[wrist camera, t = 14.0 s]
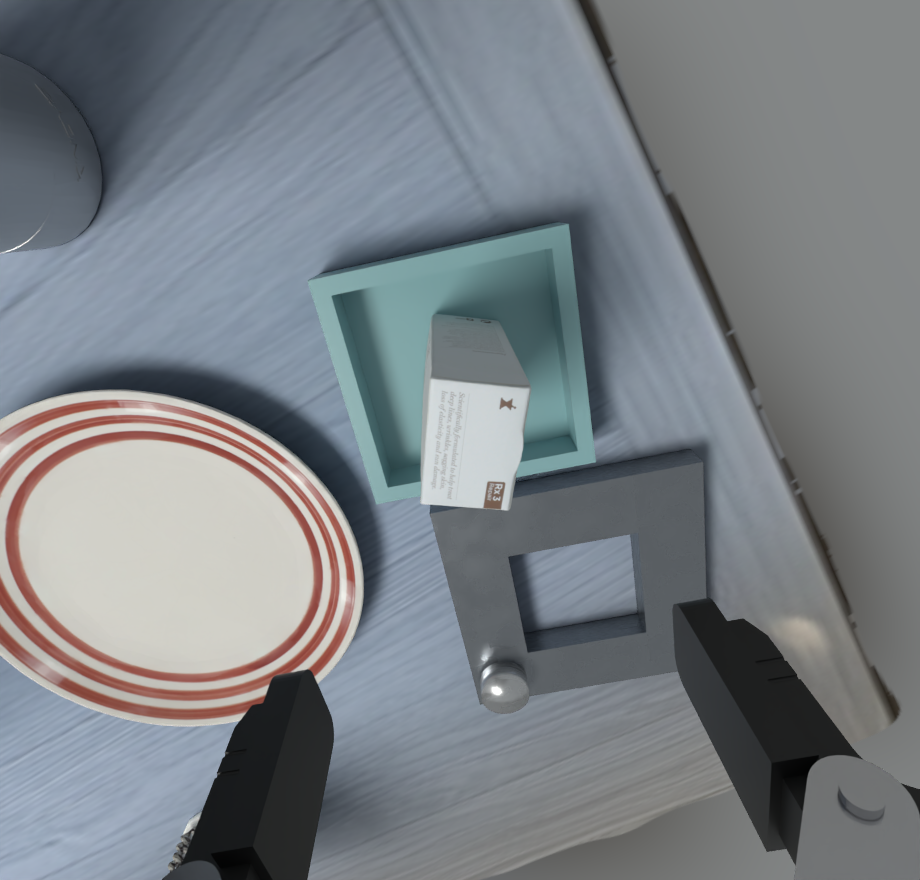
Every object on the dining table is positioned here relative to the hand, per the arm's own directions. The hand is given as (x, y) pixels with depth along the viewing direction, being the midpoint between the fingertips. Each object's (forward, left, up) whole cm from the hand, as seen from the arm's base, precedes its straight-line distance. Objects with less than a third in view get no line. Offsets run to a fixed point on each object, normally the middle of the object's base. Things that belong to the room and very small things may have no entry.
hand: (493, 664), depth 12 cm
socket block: (+5, -18, -24) cm, 30 cm away
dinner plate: (-23, -10, -25) cm, 35 cm away
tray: (0, 0, -24) cm, 24 cm away
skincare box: (0, 0, -24) cm, 24 cm away
